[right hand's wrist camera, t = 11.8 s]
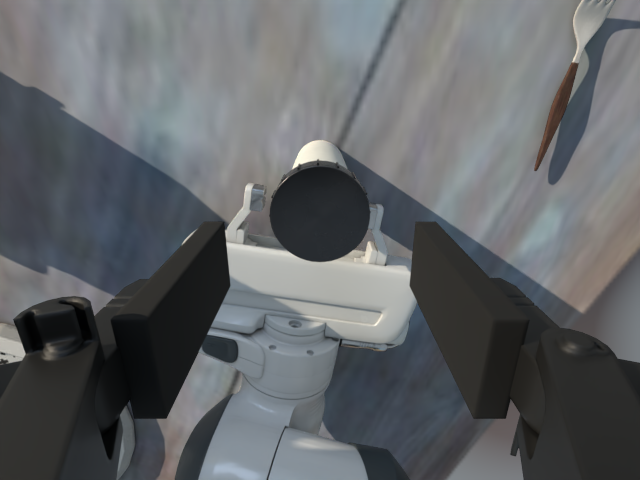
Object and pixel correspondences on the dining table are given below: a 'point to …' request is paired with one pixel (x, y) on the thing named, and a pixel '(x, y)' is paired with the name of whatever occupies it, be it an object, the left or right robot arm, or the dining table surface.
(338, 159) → the white cylinder
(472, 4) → the dining table surface
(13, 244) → the dining table surface
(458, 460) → the dining table surface
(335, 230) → the lid
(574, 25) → the fork
